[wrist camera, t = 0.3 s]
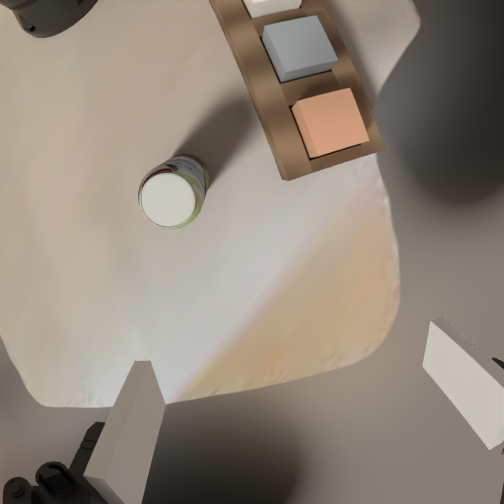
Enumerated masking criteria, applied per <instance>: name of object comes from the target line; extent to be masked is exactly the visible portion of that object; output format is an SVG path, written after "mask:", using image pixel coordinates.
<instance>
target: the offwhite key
mask: <svg viewBox="0 0 504 504" xmlns="http://www.w3.org/2000/svg"><path fill="white" fill-rule="evenodd" d="M242 1H243V3H244V5H245V7H246V9H247V11H248V13H249V15H250V17H251V19H254V18H258V17H262V16H266V15H270V14H275V13H280V12H285V11H290V10H295V9H299V6H300V4H301V1H302V0H242Z"/></svg>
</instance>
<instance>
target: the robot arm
mask: <svg viewBox="0 0 504 504" xmlns="http://www.w3.org/2000/svg"><path fill="white" fill-rule="evenodd" d="M96 1H97V0H0V4H2V5H4V6H6V7H7V8H9V9H11V10H12V11H13V13H14V15H15V17H16V19H17V20H18V22H19V24H20V26H21V27H22V29H23V30H24V31H25V32H27V33H29V34H30V35H32V36H34V37H37V38H46V37H51V36H54V35H56V34H59V33H61V32H63V31H64V30H66V29H68V28H69V27H71V26H72V25H74V24H75V23H76V22H77V21H79V20H80V19H81V18H82V17H83V16H84V15H85V14H86V13H87V12H88V11H89V10H90V9H91V8H92V6H93V5H94V4H95V2H96ZM423 368H424V369H425V370H426V371H427V372H428V374H429V375H430V376H431V377H432V378H433V380H434V381H435V382H436V383H437V384H438V386H439V387H440V388H441V389H442V390H443V392H444V393H445V394H446V395H447V396H448V398H449V399H450V400H451V401H452V402H453V404H454V405H455V406H456V408H457V409H458V410H459V411H460V413H461V414H462V415H463V416H464V418H465V419H466V420H467V421H468V423H469V424H470V425H471V427H472V428H473V429H474V430H475V432H476V433H477V434H478V436H479V437H480V438H481V439H482V441H483V442H484V443H485V445H486V446H487V447H488V449H489V450H490V449H492V448H493V447H495V446H496V445H498V444H500V443H501V442H502V441H503V439H504V362H503V361H501V360H498V359H496V358H492V359H491V358H490V357H489V356H488V355H487V354H485V353H484V352H483V351H482V350H481V349H480V348H478V347H477V346H476V345H475V344H474V343H472V342H471V341H470V340H469V339H468V338H467V337H465V336H464V335H463V334H462V333H461V332H460V331H458V330H457V329H456V328H455V327H454V326H452V325H451V324H450V323H449V322H447V321H446V320H445V319H444V318H443V317H442V318H439V319H435V320H431V322H430V329H429V335H428V340H427V346H426V351H425V356H424V361H423ZM165 406H166V405H165V402H164V399H163V396H162V394H161V391H160V388H159V385H158V382H157V379H156V376H155V373H154V370H153V367H152V364H151V361H135V362H134V364H133V366H132V368H131V370H130V372H129V374H128V376H127V378H126V380H125V383H124V385H123V387H122V389H121V391H120V393H119V395H118V397H117V399H116V402H115V404H114V406H113V408H112V410H111V412H110V415H109V417H108V419H107V421H106V423H104V422H103V423H102V422H95V423H94V424H93V425H92V426H91V427H90V428H89V429H88V430H87V432H86V434H85V436H84V438H83V441H82V442H81V444H80V449H78V451H77V453H76V455H75V457H74V459H73V461H72V464H71V466H70V468H69V470H68V468H67V467H66V466H65V465H64V464H62V463H60V462H54V461H53V462H47V463H45V464H44V465H42V466H41V467H40V468H39V469H38V470H37V473H36V475H35V478H36V482H37V483H38V484H39V486H32V485H31V484H30V483H29V482H28V481H27V480H26V479H24V478H22V477H15V478H12V479H10V480H9V481H8V482H7V483H6V484H5V486H4V490H3V504H141V502H142V497H143V493H144V489H145V485H146V481H147V477H148V473H149V468H150V464H151V460H152V456H153V452H154V448H155V444H156V440H157V437H158V433H159V429H160V425H161V421H162V417H163V414H164V410H165ZM501 454H504V449H503V450H502V453H501ZM500 504H504V484H503V490H502V496H501V501H500Z"/></svg>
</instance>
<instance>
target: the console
mask: <svg viewBox="0 0 504 504" xmlns="http://www.w3.org/2000/svg"><path fill="white" fill-rule="evenodd" d="M209 1H210V4H211V6H212V8H213V10H214V12H215V14H216V17H217V19H218V21H219V23H220V25H221V28H222V30H223V32H224V34H225V37H226V39H227V41H228V44H229V46H230V48H231V51H232V53H233V55H234V58H235V60H236V62H237V65H238V67H239V69H240V72H241V74H242V77H243V79H244V81H245V84H246V86H247V89H248V91H249V94H250V96H251V99H252V101H253V104H254V106H255V109H256V111H257V114H258V116H259V119H260V121H261V124H262V127H263V129H264V132H265V134H266V137H267V140H268V142H269V145H270V148H271V150H272V153H273V156H274V158H275V161H276V164H277V167H278V169H279V172H280V175H281V178H282V180H287V181H290V180H293V179H296V178H299V177H301V176H304V175H307V174H310V173H313V172H316V171H319V170H322V169H325V168H328V167H331V166H335V165H338V164H341V163H344V162H347V161H350V160H353V159H356V158H360V157H363V156H366V155H369V154H373V153H376V152H379V151H382V150H385V148H384V144H383V141H382V138H381V135H380V132H379V129H378V126H377V123H376V120H375V117H374V115H373V112H372V109H371V106H370V104H369V101H368V98H367V96H366V93H365V91H364V88H363V86H362V83H361V81H360V79H359V76H358V74H357V71H356V69H355V67H354V65H353V62H352V60H351V58H350V56H349V53H348V51H347V49H346V47H345V45H344V43H343V41H342V39H341V37H340V35H339V32H338V30H337V29H336V27H335V25H334V23H333V21H332V19H331V17H330V15H329V13H328V11H327V9H326V8H325V6H324V4H323V2H322V0H302V1H301V4H300V6H299V9H295V10H290V11H285V12H280V13H275V14H270V15H266V16H262V17H258V18H254V19H251V17H250V15H249V13H248V11H247V9H246V7H245V5H244V3H243V1H242V0H209ZM316 15H317V17H318V19H319V21H320V23H321V25H322V27H323V29H324V31H325V33H326V35H327V37H328V39H329V41H330V43H331V45H332V48H333V50H334V52H335V54H336V56H337V58H338V61H337V62H336V63H335V64H334V65H333V66H332V67H331V68H330V69H329V71H327V72H322V73H318V74H314V75H310V76H306V77H302V78H298V79H294V80H290V81H287V82H283V83H280V81H279V79H278V76H277V74H276V72H275V69H274V67H273V65H272V62H271V60H270V58H269V56H268V53H267V51H266V49H265V47H264V45H263V42H262V37H263V31H264V26H266V25H270V24H275V23H279V22H284V21H289V20H294V19H299V18H304V17H310V16H316ZM346 88H350V89H351V91H352V94H353V96H354V99H355V102H356V104H357V107H358V109H359V112H360V115H361V118H362V120H363V123H364V126H365V129H366V132H367V135H368V138H369V141H367V142H363V143H360V144H356V145H353V146H350V147H346V148H343V149H340V150H336V151H333V152H330V153H327V154H324V155H321V156H317V157H311V158H309V156H308V153H307V151H306V148H305V145H304V142H303V140H302V137H301V134H300V132H299V129H298V126H297V124H296V121H295V118H294V116H293V113H292V111H291V108H292V107H293V106H294V105H295V103H296V102H297V101H299V100H303V99H306V98H310V97H314V96H318V95H322V94H326V93H330V92H334V91H338V90H342V89H346Z"/></svg>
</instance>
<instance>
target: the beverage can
mask: <svg viewBox="0 0 504 504" xmlns="http://www.w3.org/2000/svg"><path fill="white" fill-rule="evenodd" d="M209 182H210V177H209V172H208V169H207V167H206V165H205V164H204V163H203V162H202V161H201V160H200V159H199V158H197V157H195V156H192V155H188V154H182V155H177V156H174V157H172V158H171V159H169V160H167V161H166V162H164V163H162V164H161V165H159V166H157V167H156V168H154V169H152V170H151V171H150V172H149V173H148V174H147V175H146V176H145V177H144V179H143V180H142V182H141V185H140V187H139V193H138V201H139V206H140V208H141V211H142V212H143V214H144V216H145V217H146V218H147V219H148V220H149V221H150V222H151V223H153V224H154V225H156V226H158V227H161V228H165V229H178V228H181V227H184V226H186V225H188V224H189V223H191V222H192V221H193V220H194V219H195V218H196V217H197V215H198V214H199V212H200V210H201V208H202V205H203V202H204V199H205V196H206V193H207V190H208V187H209Z"/></svg>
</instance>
